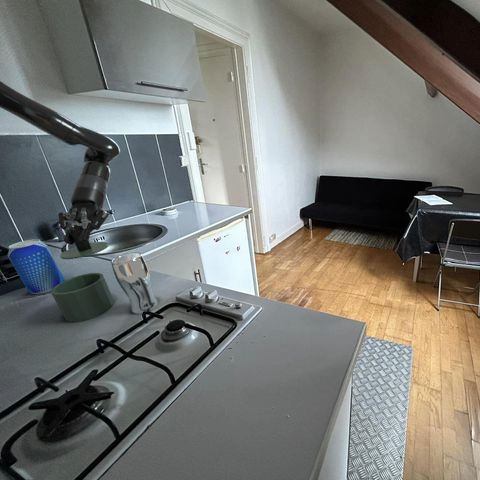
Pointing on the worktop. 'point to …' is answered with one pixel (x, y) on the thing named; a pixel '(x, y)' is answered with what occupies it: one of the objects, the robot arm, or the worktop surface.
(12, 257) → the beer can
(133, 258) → the beer glass
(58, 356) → the worktop surface
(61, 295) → the tin
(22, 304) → the worktop surface
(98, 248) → the tin lid
